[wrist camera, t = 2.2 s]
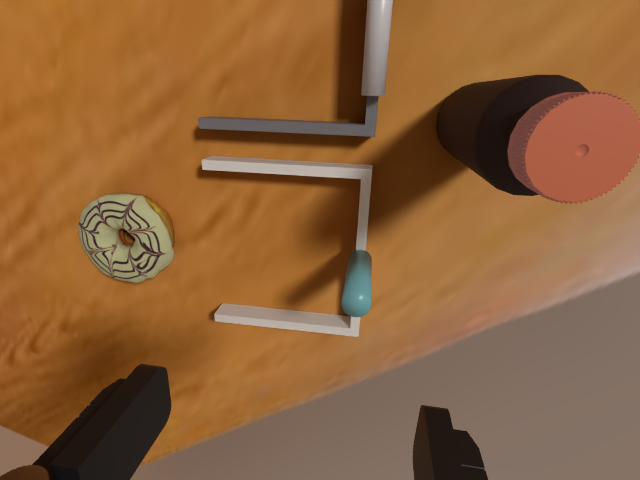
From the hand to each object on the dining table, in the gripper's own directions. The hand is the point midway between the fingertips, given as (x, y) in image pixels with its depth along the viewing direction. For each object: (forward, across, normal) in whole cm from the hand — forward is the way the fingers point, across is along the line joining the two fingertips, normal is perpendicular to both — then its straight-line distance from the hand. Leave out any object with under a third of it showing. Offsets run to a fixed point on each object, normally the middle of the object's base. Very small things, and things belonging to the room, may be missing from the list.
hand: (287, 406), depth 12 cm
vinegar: (+30, -11, -7) cm, 33 cm away
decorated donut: (+30, +25, +7) cm, 40 cm away
